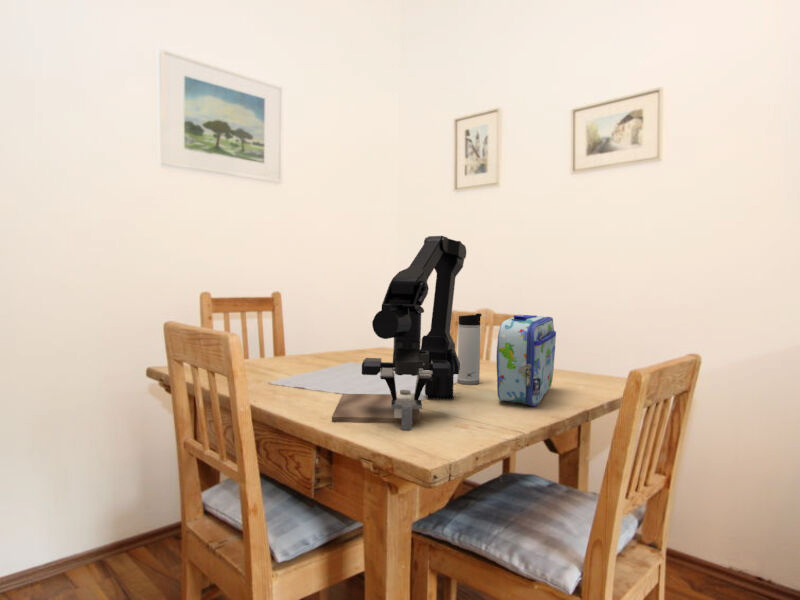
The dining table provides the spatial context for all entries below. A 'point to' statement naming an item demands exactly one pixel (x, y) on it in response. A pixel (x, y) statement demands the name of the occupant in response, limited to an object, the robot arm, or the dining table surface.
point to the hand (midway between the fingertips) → (405, 407)
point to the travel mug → (469, 349)
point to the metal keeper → (406, 411)
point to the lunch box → (525, 358)
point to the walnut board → (369, 409)
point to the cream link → (402, 397)
